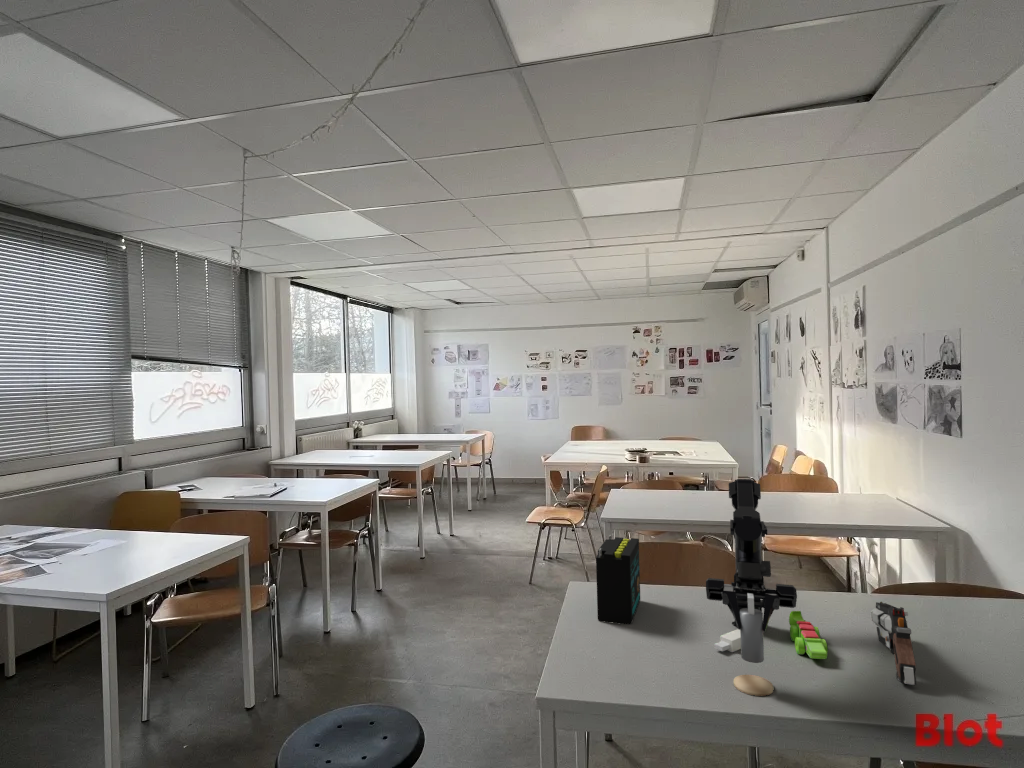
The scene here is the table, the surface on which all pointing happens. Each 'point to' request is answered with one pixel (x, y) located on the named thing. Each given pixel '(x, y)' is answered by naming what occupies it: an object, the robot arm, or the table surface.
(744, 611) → the grey plug
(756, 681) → the cork coaster
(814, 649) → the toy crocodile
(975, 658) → the table surface
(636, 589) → the battery
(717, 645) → the small lying plug
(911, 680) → the toy gun
